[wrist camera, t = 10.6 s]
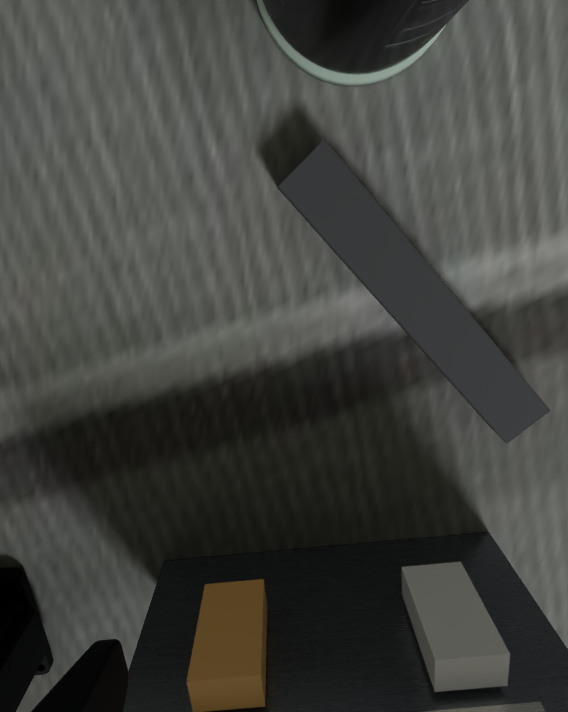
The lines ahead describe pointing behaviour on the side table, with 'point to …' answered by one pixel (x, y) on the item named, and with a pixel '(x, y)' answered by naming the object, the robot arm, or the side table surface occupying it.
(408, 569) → the paddle
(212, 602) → the paddle main
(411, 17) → the supplement bottle
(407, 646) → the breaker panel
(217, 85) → the side table surface
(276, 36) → the pad
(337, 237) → the dark grey slat
